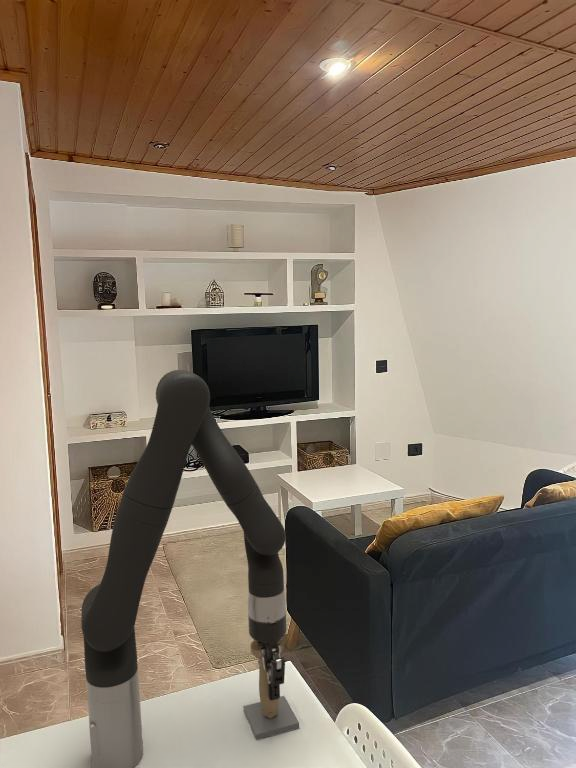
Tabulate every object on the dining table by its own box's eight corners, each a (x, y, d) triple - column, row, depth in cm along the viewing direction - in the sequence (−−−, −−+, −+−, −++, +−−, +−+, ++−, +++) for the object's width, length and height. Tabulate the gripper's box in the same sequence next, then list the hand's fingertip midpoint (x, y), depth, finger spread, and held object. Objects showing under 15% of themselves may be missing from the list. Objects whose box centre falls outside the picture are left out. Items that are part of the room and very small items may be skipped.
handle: (286, 720, 118) (283, 649, 116) (254, 723, 118) (250, 652, 116) (285, 704, 123) (281, 636, 121) (254, 707, 122) (250, 639, 121)
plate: (256, 740, 115) (255, 734, 114) (243, 711, 123) (243, 706, 123) (299, 728, 118) (299, 722, 117) (284, 700, 126) (284, 695, 126)
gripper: (239, 598, 123) (242, 674, 125) (259, 633, 109) (262, 717, 112) (273, 591, 125) (275, 666, 127) (297, 624, 112) (299, 707, 114)
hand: (269, 689), depth 119 cm, fingers open, 5 cm apart
